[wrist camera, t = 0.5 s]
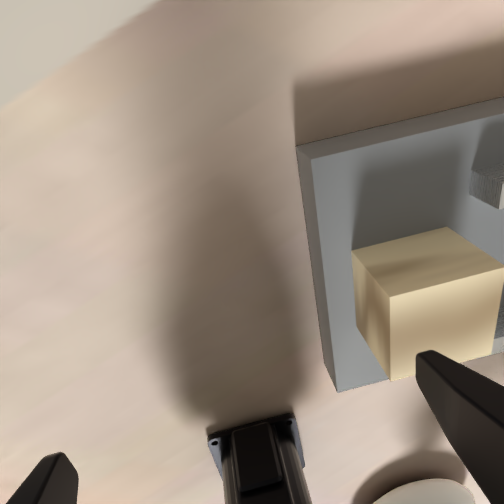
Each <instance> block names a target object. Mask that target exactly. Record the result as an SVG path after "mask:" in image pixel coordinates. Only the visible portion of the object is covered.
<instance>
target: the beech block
mask: <svg viewBox="0 0 504 504" xmlns="http://www.w3.org/2000/svg"><path fill="white" fill-rule="evenodd" d="M351 254H352V269H353V284H354V298H355V313H356V327H357V328H358V330H359V332H360V333H361V335H362V336H363V338H364V340H365V341H366V343H367V344H368V346H369V348H370V349H371V351H372V352H373V354H374V356H375V357H376V359H377V360H378V362H379V364H380V365H381V367H382V369H383V370H384V372H385V373H386V375H387V377H388V378H389V380H390V381H395V380H398V379H402V378H406V377H409V376H413V375H416V362H415V358H416V355H417V353H420V352H423V351H427V350H435V351H437V352H439V353H441V354H442V355H444V356H446V357H448V358H450V359H452V360H454V361H456V362H458V363H461V362H465V361H468V360H472V359H476V358H480V357H483V356H487V355H491V352H492V346H493V341H494V335H495V329H496V324H497V318H498V312H499V306H500V301H501V295H502V289H503V284H504V265H503V264H501V263H500V262H499V261H497V260H496V259H494V258H493V257H491V256H490V255H488V254H487V253H485V252H484V251H482V250H481V249H479V248H478V247H476V246H475V245H473V244H472V243H470V242H469V241H468V240H466V239H465V238H463V237H462V236H460V235H459V234H457V233H456V232H454V231H453V230H451V229H450V228H448V227H443V228H439V229H435V230H431V231H427V232H423V233H419V234H415V235H411V236H407V237H403V238H400V239H396V240H392V241H388V242H384V243H380V244H376V245H372V246H368V247H364V248H360V249H356V250H352V251H351Z"/></svg>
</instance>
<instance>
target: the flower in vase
mask: <svg viewBox="0 0 504 504" xmlns="http://www.w3.org/2000/svg"><path fill="white" fill-rule="evenodd" d="M373 504H475V500H474V497H473V494H472V492H471V491H470V490H469V489H468V488H466V487H465V486H463V485H461V484H460V483H458V482H456V481H453V480H449V479H426V480H420V481H415V482H412V483H408V484H405V485H402V486H400V487H397V488H395V489H393V490H392V491H390V492H388V493H387V494H385V495H384V496H382V497H381V498H379V499H378V500H377V501H375V502H374V503H373Z"/></svg>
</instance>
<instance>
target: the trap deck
mask: <svg viewBox="0 0 504 504" xmlns="http://www.w3.org/2000/svg"><path fill="white" fill-rule="evenodd" d="M296 153H297V161H298V168H299V176H300V183H301V191H302V198H303V206H304V213H305V221H306V228H307V236H308V243H309V251H310V259H311V266H312V274H313V281H314V289H315V296H316V304H317V311H318V319H319V326H320V334H321V341H322V349H323V356H324V364H325V366H326V368H327V371H328V373H329V375H330V377H331V379H332V382H333V384H334V386H335V388H336V391H337V393H339V392H343V391H347V390H350V389H354V388H358V387H361V386H365V385H369V384H372V383H376V382H380V381H383V380H387V379H389V378H388V377H387V375H386V373H385V372H384V370H383V369H382V367H381V365H380V364H379V362H378V360H377V359H376V357H375V356H374V354H373V352H372V351H371V349H370V348H369V346H368V344H367V343H366V341H365V340H364V338H363V336H362V335H361V333H360V332H359V330H358V328H357V327H356V313H355V298H354V284H353V269H352V254H351V251H352V250H356V249H360V248H364V247H368V246H372V245H376V244H380V243H384V242H388V241H392V240H396V239H400V238H403V237H407V236H411V235H415V234H419V233H423V232H427V231H431V230H435V229H439V228H443V227H448V228H450V229H451V230H453V231H454V232H456V233H457V234H459V235H460V236H462V237H463V238H465V239H466V240H468V241H469V242H470V243H472V244H473V245H475V246H476V247H478V248H479V249H481V250H482V251H484V252H485V253H487V254H488V255H490V256H491V257H493V258H494V259H496V260H497V261H499V262H500V263H501V264H503V265H504V208H503V209H497V208H495V207H493V206H491V205H489V204H487V203H485V202H483V201H481V200H479V199H477V198H475V197H473V196H471V195H469V185H470V176H471V170H474V169H478V168H482V167H486V166H491V165H495V164H499V163H503V162H504V97H501V98H497V99H492V100H488V101H484V102H480V103H475V104H471V105H467V106H463V107H459V108H454V109H450V110H446V111H442V112H438V113H433V114H429V115H425V116H421V117H417V118H412V119H408V120H404V121H400V122H396V123H391V124H387V125H383V126H379V127H375V128H370V129H366V130H362V131H358V132H354V133H349V134H345V135H341V136H337V137H332V138H328V139H324V140H320V141H316V142H311V143H307V144H303V145H299V146H296ZM503 307H504V284H503V289H502V295H501V301H500V306H499V308H503Z"/></svg>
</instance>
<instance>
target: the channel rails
mask: <svg viewBox="0 0 504 504" xmlns="http://www.w3.org/2000/svg"><path fill="white" fill-rule="evenodd" d="M469 195H471V196H473V197H475V198H477V199H479V200H481V201H483V202H485V203H487V204H489V205H491V206H493V207H495V208H497V209H503V208H504V162H503V163H499V164H495V165H491V166H486V167H482V168H478V169H474V170H471V176H470V185H469ZM501 352H504V307H503V308H499V312H498V318H497V324H496V329H495V335H494V341H493V346H492V352H491V355H493V354H497V353H501ZM487 356H490V355H487ZM483 357H486V356H483ZM480 358H482V357H480ZM476 359H478V358H476Z"/></svg>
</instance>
